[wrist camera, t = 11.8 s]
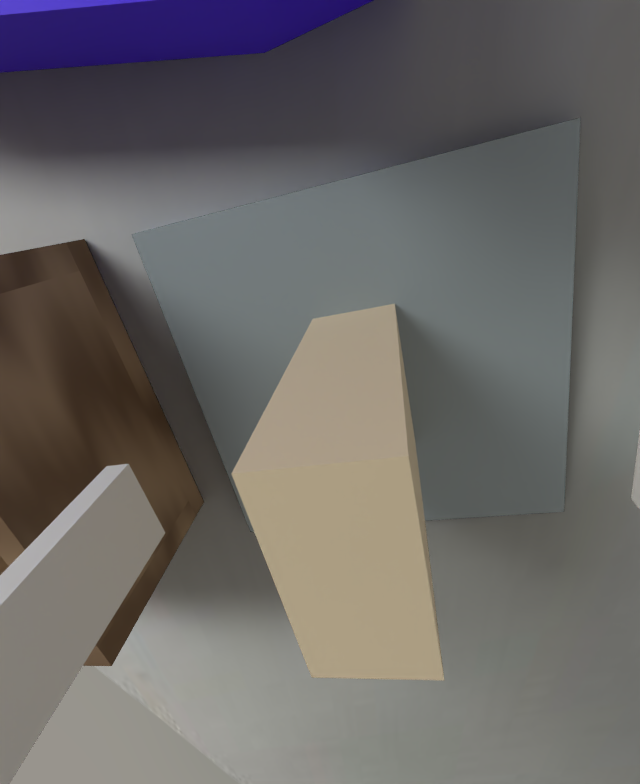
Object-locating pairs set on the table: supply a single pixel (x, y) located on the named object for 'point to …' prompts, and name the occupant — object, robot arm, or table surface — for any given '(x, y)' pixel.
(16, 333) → the box
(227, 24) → the bracket
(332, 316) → the lid
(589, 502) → the table surface
